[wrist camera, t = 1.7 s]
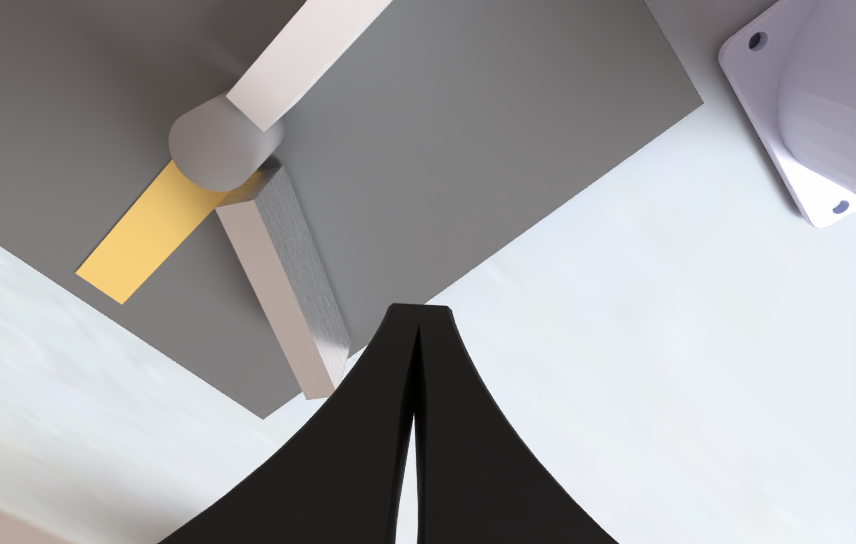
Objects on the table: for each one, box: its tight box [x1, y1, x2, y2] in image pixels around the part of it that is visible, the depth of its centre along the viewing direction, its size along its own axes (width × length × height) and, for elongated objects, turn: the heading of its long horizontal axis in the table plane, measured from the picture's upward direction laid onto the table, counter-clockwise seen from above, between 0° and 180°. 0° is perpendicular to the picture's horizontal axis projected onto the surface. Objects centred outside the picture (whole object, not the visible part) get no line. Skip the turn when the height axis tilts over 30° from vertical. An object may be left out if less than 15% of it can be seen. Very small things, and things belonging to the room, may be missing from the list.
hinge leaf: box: [215, 164, 351, 400], centre depth 17 cm, size 8×1×3 cm, turn 12°
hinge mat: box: [0, 0, 704, 419], centre depth 15 cm, size 22×16×4 cm
